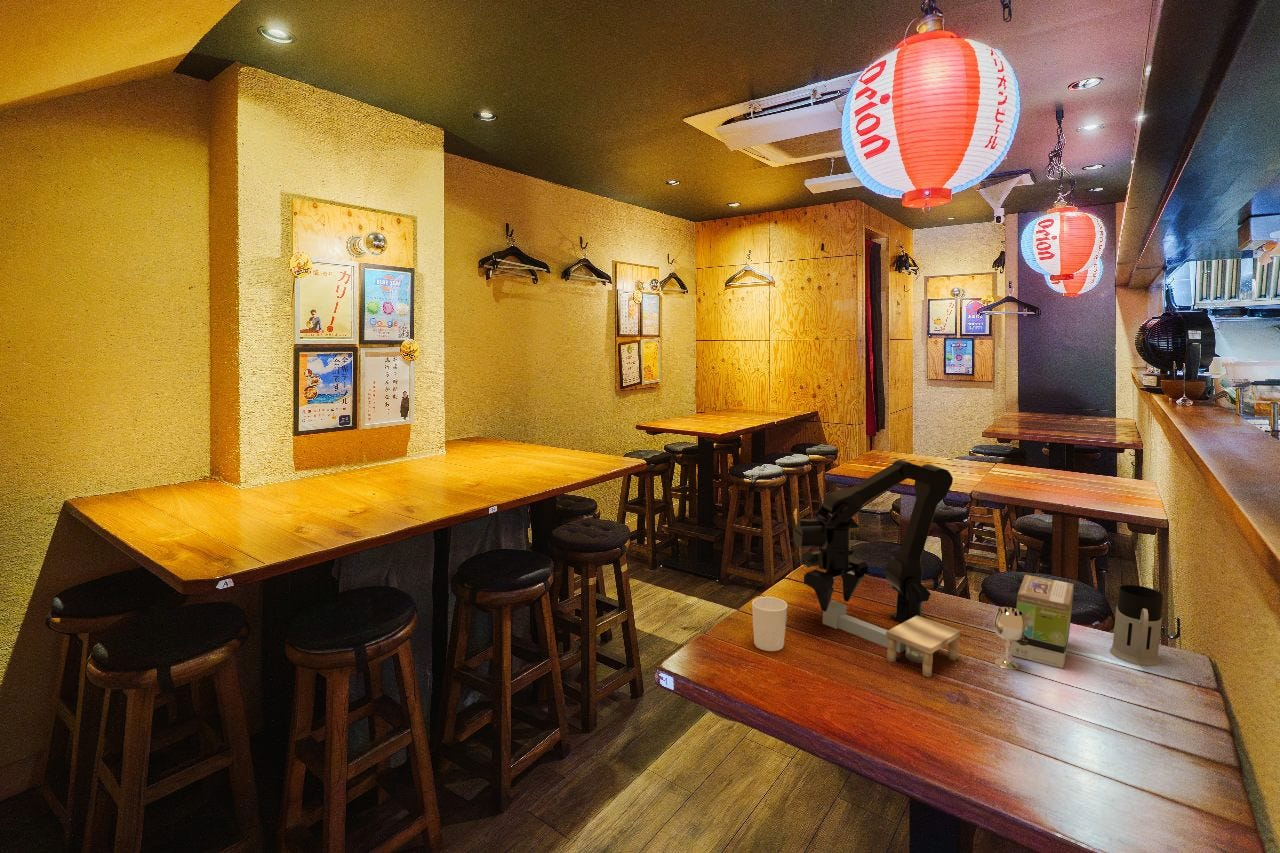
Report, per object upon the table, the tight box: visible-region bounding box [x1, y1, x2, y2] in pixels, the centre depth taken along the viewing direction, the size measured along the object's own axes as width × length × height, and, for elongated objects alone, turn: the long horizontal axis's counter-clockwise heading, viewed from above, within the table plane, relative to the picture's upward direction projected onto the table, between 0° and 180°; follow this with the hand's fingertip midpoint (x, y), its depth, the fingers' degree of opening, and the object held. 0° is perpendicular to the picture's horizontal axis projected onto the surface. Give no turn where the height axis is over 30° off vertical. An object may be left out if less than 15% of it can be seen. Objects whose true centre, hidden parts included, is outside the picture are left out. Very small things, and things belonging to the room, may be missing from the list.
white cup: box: [751, 596, 788, 652], centre depth 144 cm, size 8×8×10 cm
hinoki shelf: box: [886, 616, 962, 678], centre depth 137 cm, size 13×10×6 cm
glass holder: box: [1109, 584, 1164, 667], centre depth 135 cm, size 9×14×15 cm, turn 148°
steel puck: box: [904, 645, 923, 664], centre depth 138 cm, size 5×5×3 cm
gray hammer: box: [822, 599, 906, 654], centre depth 149 cm, size 4×20×5 cm, turn 38°
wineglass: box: [993, 606, 1025, 670], centre depth 134 cm, size 6×6×12 cm
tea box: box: [1011, 574, 1075, 669], centre depth 140 cm, size 15×10×15 cm, turn 143°
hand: (835, 605), depth 155 cm, fingers open, 9 cm apart
